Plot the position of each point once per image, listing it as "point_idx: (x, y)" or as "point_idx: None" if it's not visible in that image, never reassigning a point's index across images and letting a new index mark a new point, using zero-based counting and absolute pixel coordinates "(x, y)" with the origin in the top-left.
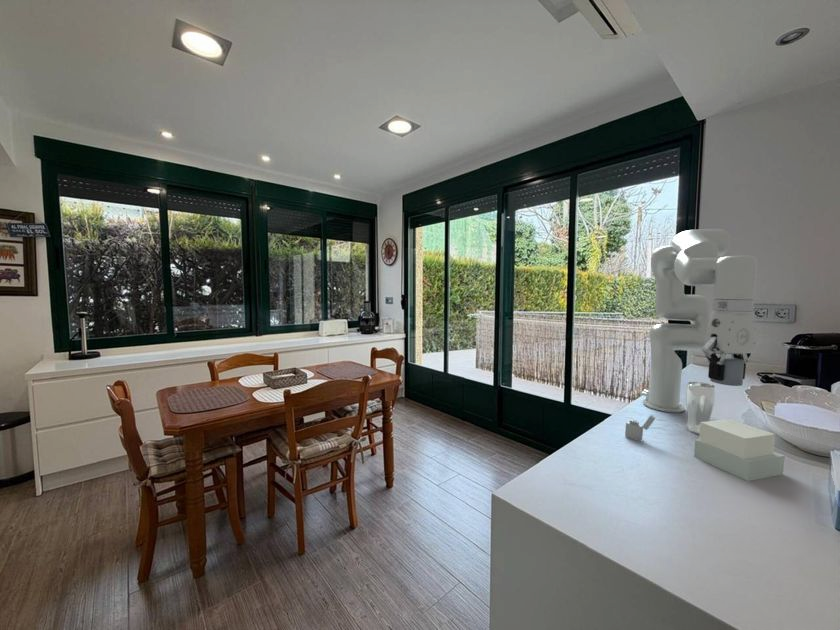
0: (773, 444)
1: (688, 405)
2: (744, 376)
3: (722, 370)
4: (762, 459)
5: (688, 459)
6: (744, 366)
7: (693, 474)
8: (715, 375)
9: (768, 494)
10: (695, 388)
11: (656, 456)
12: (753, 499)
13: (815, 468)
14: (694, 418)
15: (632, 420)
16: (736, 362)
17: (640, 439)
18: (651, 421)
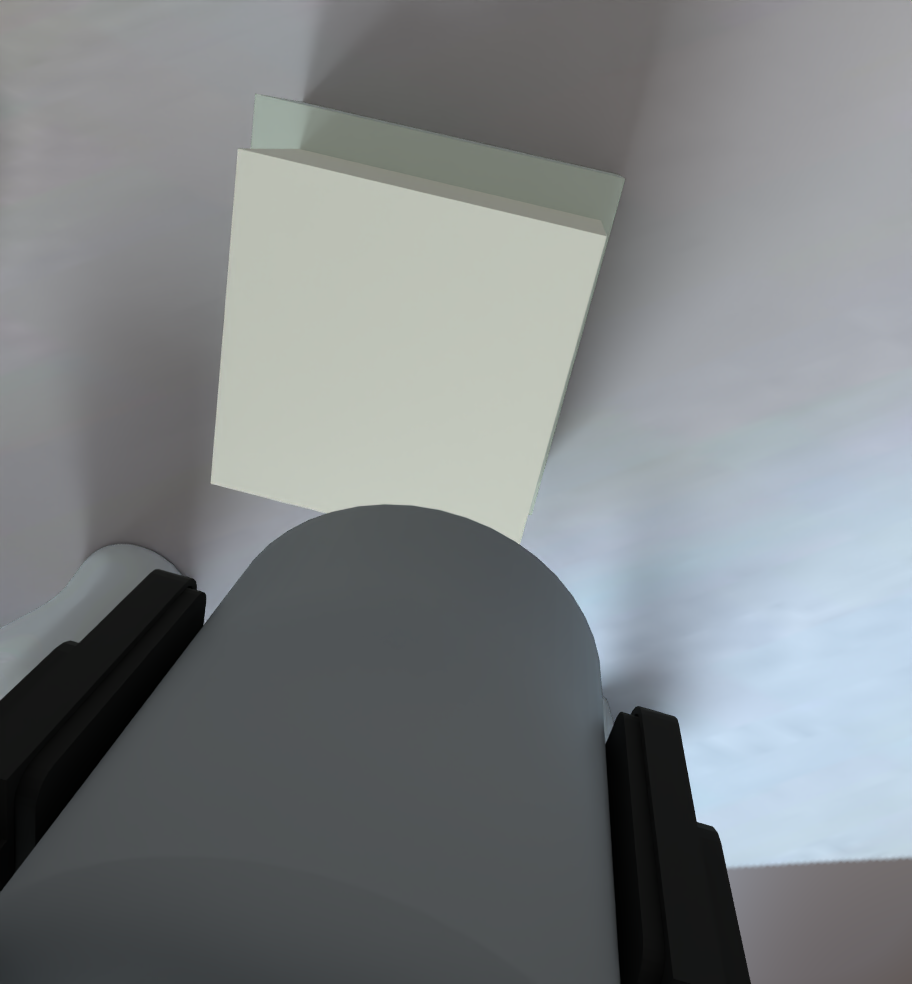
0: (280, 150)
1: None
2: (145, 589)
3: (703, 873)
4: (482, 148)
5: (616, 468)
6: (45, 728)
7: (816, 372)
8: (712, 843)
9: (708, 32)
10: None
11: (746, 573)
12: (871, 51)
13: (11, 30)
14: None
15: None
16: (487, 913)
17: (605, 705)
18: None
